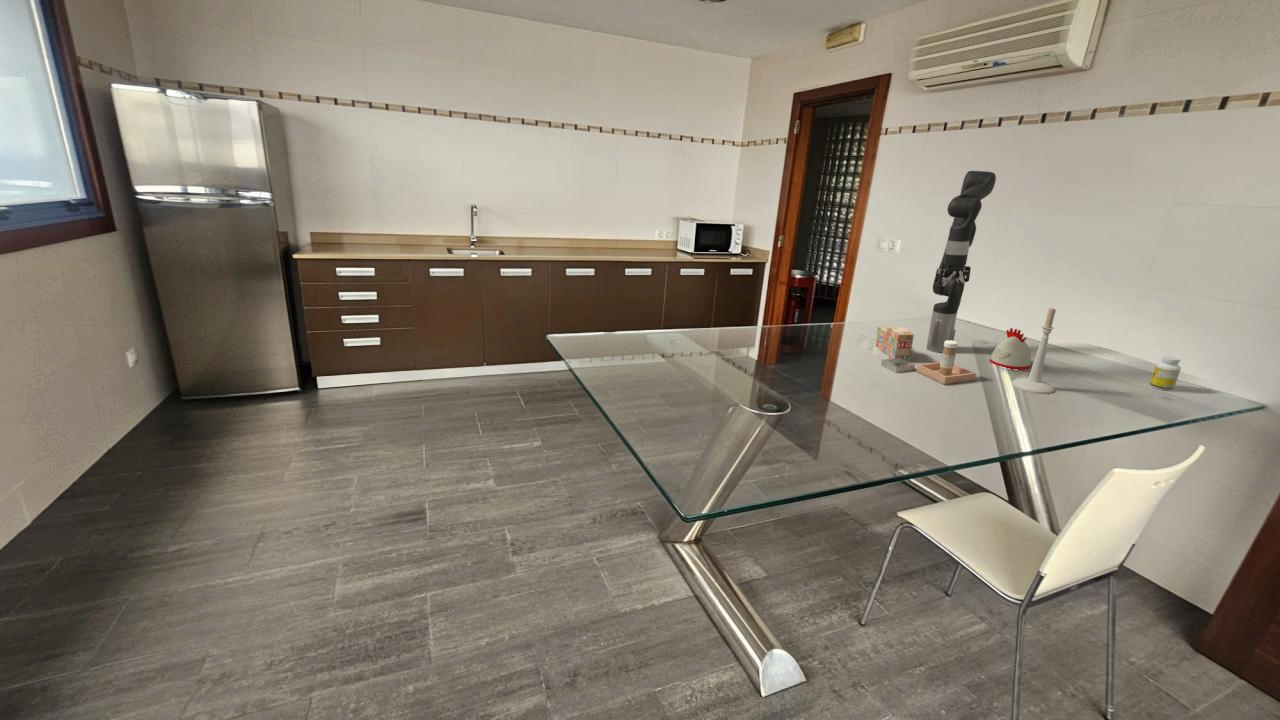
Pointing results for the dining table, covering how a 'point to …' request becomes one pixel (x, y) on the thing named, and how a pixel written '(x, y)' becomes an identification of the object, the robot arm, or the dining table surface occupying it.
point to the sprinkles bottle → (948, 357)
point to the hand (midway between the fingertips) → (949, 294)
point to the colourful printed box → (895, 341)
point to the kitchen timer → (1012, 352)
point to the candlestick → (1038, 364)
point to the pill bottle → (1166, 373)
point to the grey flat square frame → (893, 362)
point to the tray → (956, 377)
